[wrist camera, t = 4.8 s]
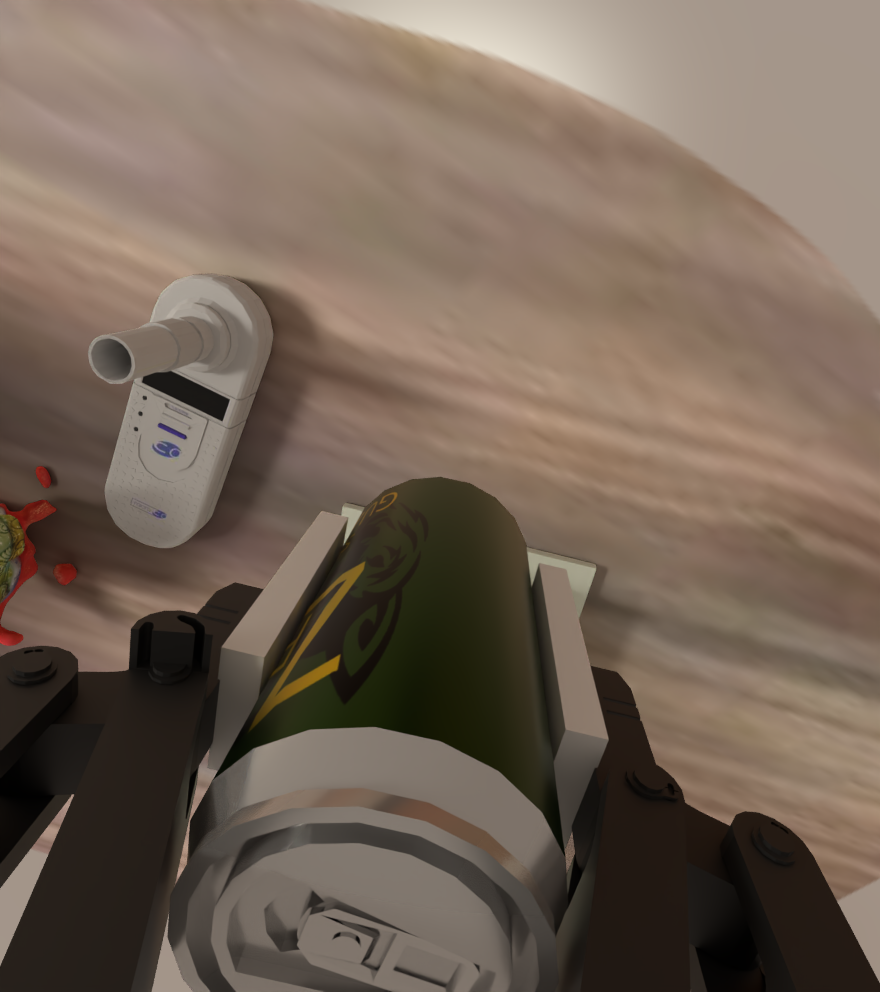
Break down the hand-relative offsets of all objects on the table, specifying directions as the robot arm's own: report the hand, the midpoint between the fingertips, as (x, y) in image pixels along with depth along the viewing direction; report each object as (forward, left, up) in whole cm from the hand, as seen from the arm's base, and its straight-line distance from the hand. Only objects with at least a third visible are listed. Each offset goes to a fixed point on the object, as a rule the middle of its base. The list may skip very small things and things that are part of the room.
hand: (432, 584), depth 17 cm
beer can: (0, 0, -2) cm, 2 cm away
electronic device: (-14, -2, -16) cm, 22 cm away
